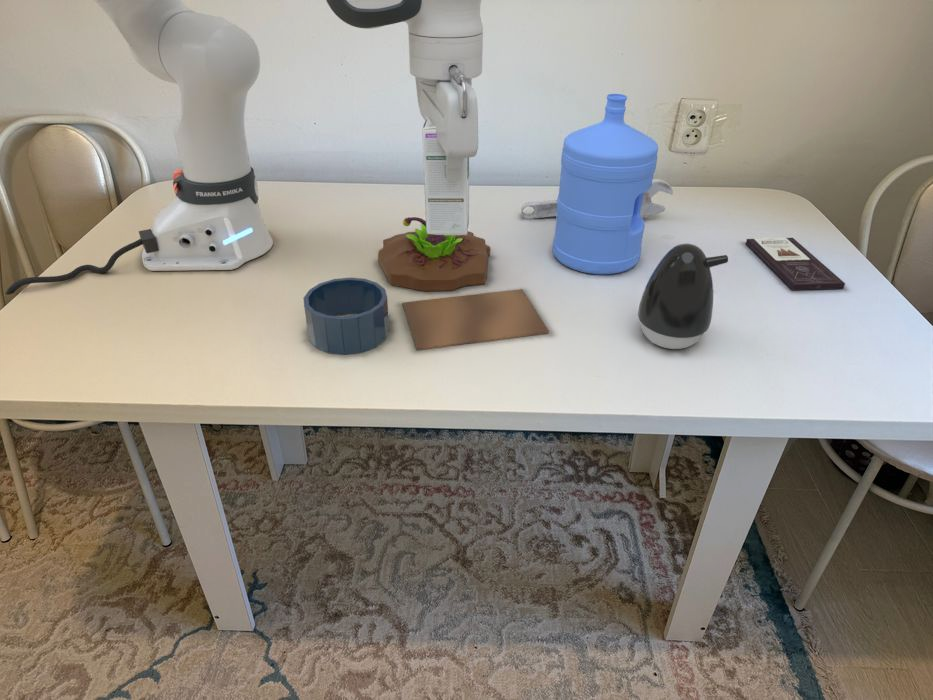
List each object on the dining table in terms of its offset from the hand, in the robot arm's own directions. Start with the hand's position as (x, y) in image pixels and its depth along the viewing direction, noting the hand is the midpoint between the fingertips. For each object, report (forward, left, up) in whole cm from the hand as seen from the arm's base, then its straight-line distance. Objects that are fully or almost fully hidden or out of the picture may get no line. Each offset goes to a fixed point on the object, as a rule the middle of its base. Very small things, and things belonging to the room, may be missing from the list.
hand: (446, 169), depth 88 cm
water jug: (+31, +16, -24) cm, 43 cm away
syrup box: (0, 0, -8) cm, 8 cm away
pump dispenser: (+31, -12, -24) cm, 41 cm away
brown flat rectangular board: (+4, 0, -24) cm, 24 cm away
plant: (+2, +19, -24) cm, 31 cm away
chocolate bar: (+64, +5, -24) cm, 69 cm away
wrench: (+37, +32, -24) cm, 55 cm away
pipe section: (-15, +1, -24) cm, 28 cm away
